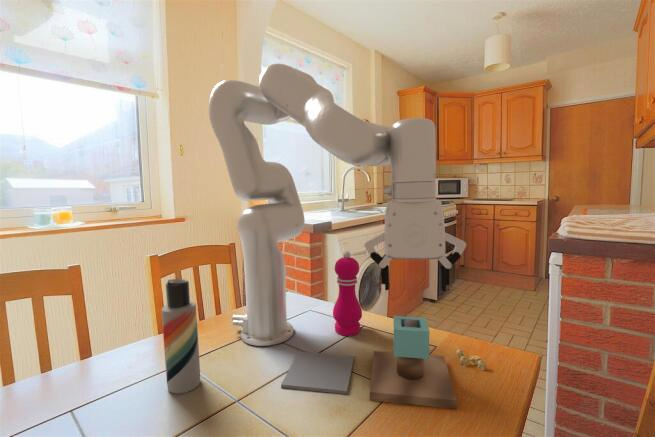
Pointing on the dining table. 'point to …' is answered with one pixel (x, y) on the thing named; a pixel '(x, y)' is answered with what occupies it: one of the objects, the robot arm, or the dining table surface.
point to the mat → (319, 372)
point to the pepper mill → (347, 297)
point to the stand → (411, 379)
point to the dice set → (474, 359)
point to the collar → (411, 338)
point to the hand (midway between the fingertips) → (414, 288)
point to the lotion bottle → (180, 338)
